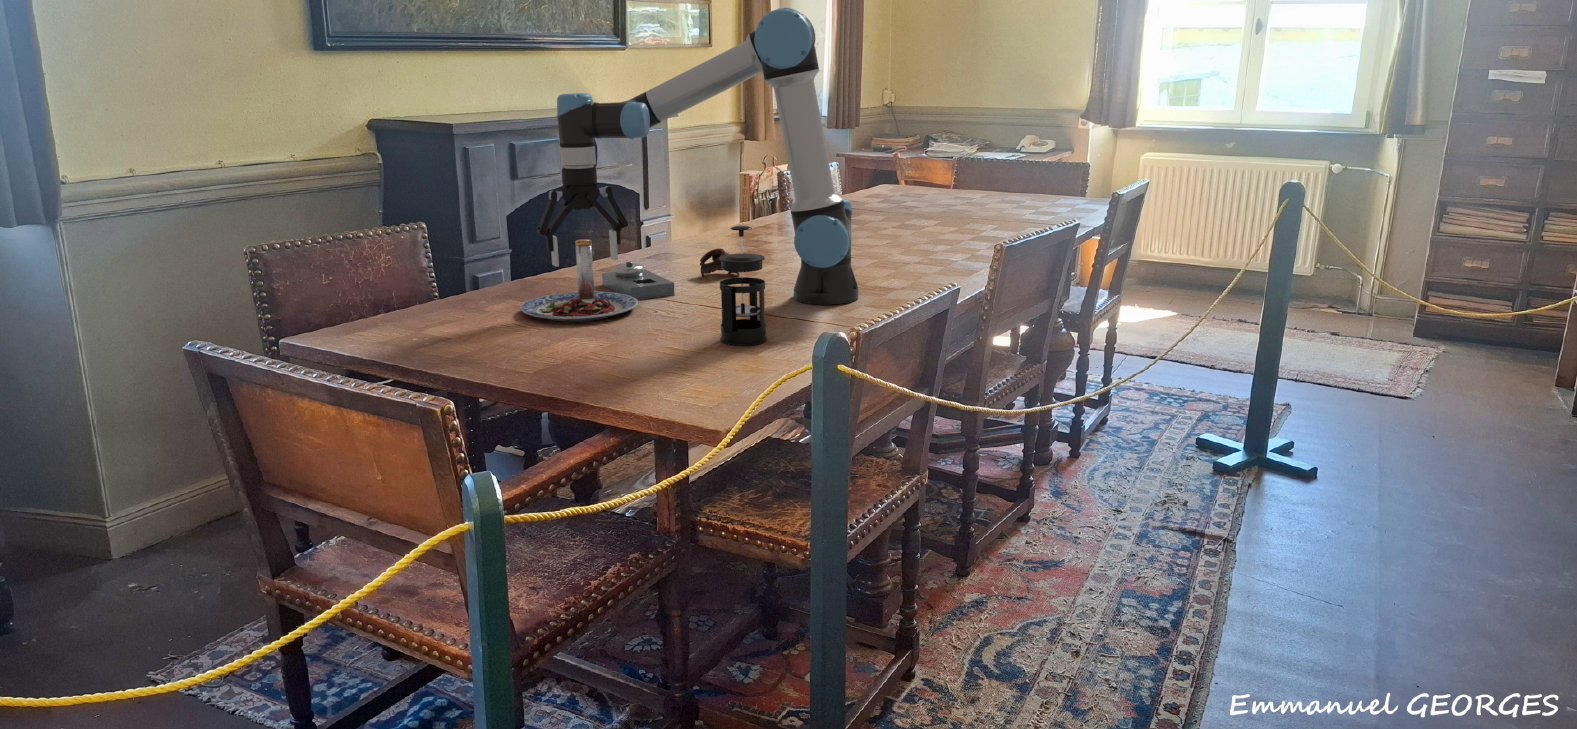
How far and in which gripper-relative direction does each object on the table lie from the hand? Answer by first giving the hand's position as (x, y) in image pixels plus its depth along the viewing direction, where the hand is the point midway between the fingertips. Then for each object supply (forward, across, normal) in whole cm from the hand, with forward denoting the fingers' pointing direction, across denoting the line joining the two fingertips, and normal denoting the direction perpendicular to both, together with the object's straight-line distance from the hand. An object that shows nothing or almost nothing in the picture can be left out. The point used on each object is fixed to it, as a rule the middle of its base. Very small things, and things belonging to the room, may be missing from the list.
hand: (585, 262), depth 242 cm
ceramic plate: (+11, +2, +2) cm, 12 cm away
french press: (+11, -18, +43) cm, 48 cm away
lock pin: (+8, 0, 0) cm, 8 cm away
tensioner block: (+11, -17, -13) cm, 24 cm away
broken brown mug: (+11, -41, -18) cm, 47 cm away
